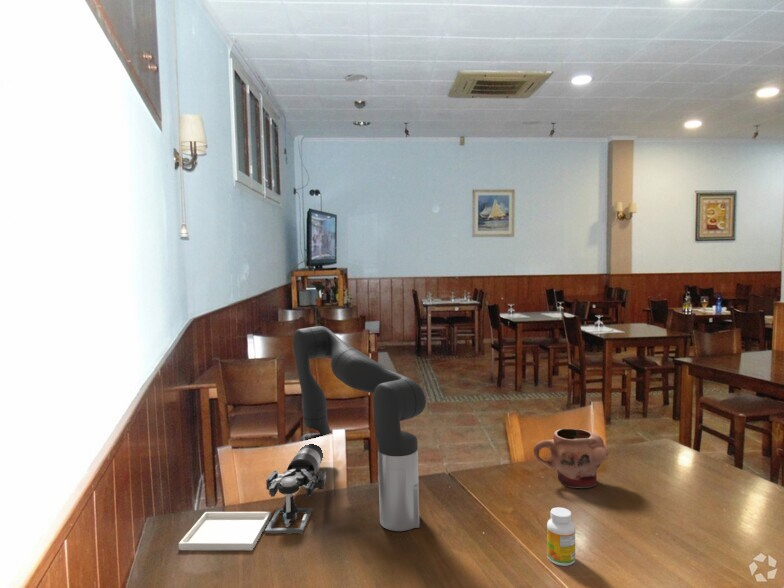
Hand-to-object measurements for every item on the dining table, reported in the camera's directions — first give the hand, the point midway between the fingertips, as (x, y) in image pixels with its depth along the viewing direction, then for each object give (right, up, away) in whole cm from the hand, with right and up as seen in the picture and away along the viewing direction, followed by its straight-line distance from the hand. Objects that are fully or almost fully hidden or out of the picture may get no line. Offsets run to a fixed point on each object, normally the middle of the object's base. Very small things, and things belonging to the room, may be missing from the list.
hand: (289, 492), depth 120 cm
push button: (0, -7, -1) cm, 7 cm away
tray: (-13, -7, -5) cm, 16 cm away
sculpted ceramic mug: (+73, -4, +17) cm, 75 cm away
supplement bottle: (+58, -6, -18) cm, 61 cm away
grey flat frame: (0, -7, -1) cm, 7 cm away
